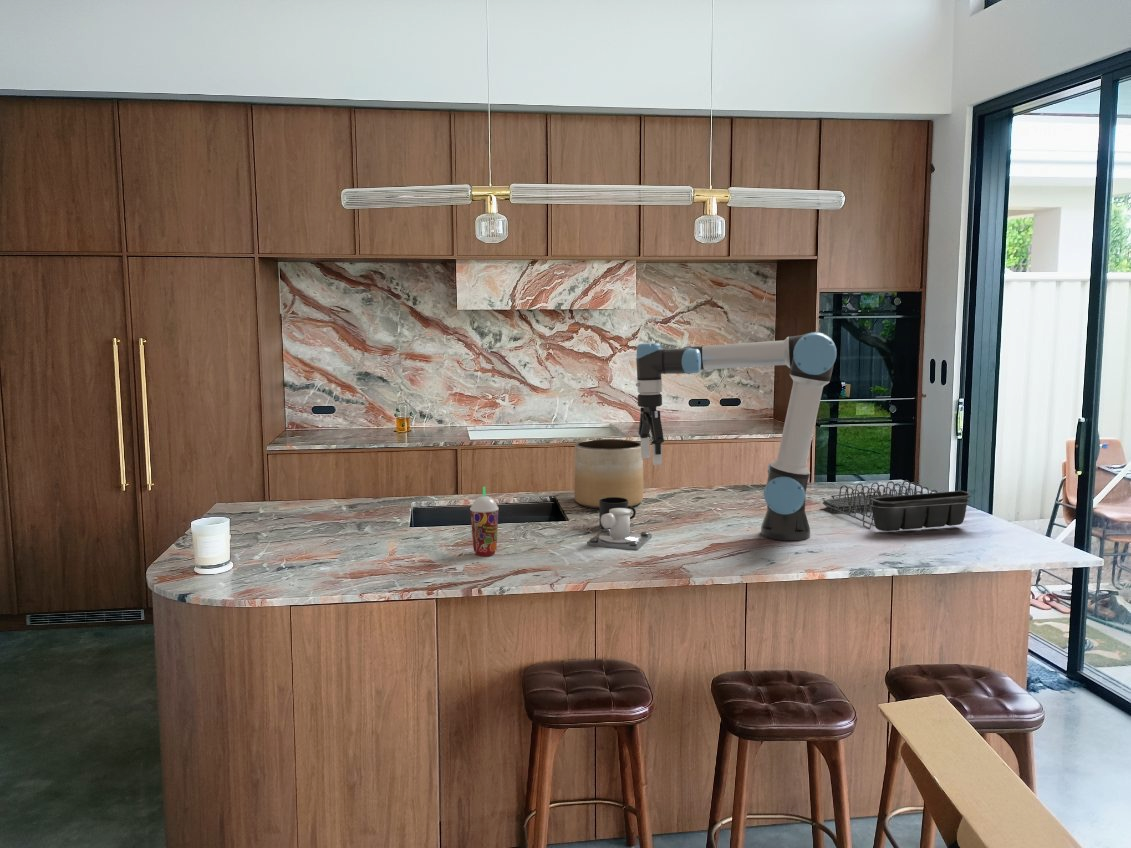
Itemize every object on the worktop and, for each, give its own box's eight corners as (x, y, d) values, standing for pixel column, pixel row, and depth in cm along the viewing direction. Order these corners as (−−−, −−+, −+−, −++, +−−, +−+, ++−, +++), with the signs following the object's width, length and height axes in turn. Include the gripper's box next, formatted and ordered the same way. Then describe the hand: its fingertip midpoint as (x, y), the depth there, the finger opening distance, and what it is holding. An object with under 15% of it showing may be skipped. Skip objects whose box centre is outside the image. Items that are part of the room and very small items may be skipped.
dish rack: (880, 538, 279) (881, 500, 277) (811, 507, 321) (812, 474, 320) (975, 531, 286) (977, 494, 284) (895, 502, 329) (896, 470, 327)
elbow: (620, 532, 279) (620, 507, 278) (635, 536, 274) (635, 510, 273) (598, 537, 273) (598, 511, 272) (612, 541, 268) (612, 515, 267)
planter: (578, 494, 343) (578, 438, 340) (644, 496, 340) (645, 439, 337) (570, 509, 318) (569, 448, 315) (641, 511, 315) (641, 449, 312)
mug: (637, 530, 288) (637, 502, 287) (600, 530, 288) (600, 503, 287) (634, 523, 297) (634, 496, 296) (598, 523, 297) (598, 497, 296)
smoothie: (488, 559, 255) (486, 490, 253) (465, 555, 260) (463, 487, 257) (505, 552, 262) (504, 485, 260) (482, 548, 267) (481, 483, 264)
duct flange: (651, 537, 279) (651, 531, 279) (637, 550, 264) (637, 544, 264) (603, 532, 285) (603, 527, 285) (586, 545, 270) (586, 539, 270)
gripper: (627, 391, 286) (629, 456, 288) (648, 397, 261) (650, 468, 264) (650, 389, 287) (652, 454, 290) (673, 396, 263) (674, 467, 265)
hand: (651, 461), depth 277 cm, fingers open, 13 cm apart
